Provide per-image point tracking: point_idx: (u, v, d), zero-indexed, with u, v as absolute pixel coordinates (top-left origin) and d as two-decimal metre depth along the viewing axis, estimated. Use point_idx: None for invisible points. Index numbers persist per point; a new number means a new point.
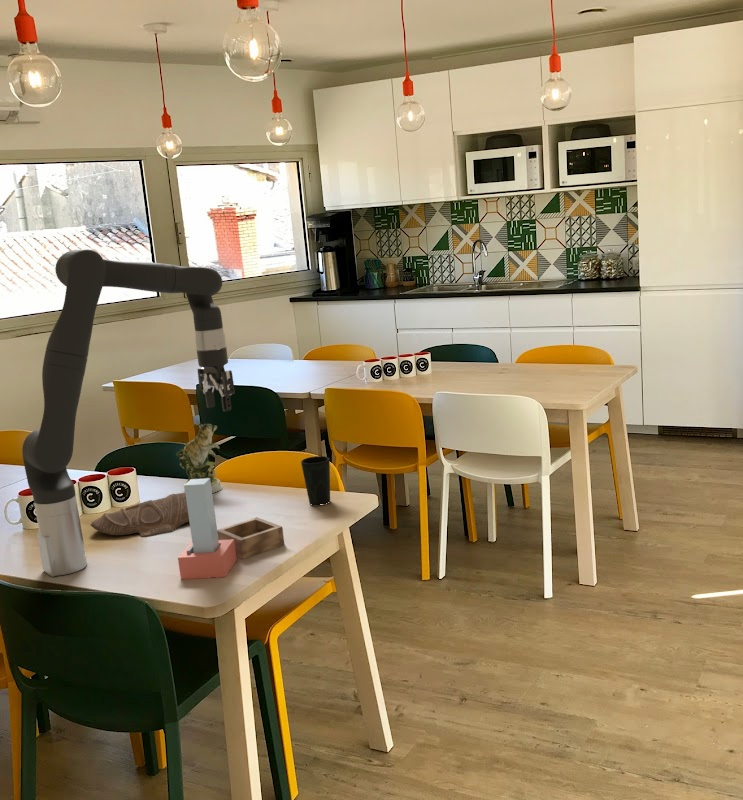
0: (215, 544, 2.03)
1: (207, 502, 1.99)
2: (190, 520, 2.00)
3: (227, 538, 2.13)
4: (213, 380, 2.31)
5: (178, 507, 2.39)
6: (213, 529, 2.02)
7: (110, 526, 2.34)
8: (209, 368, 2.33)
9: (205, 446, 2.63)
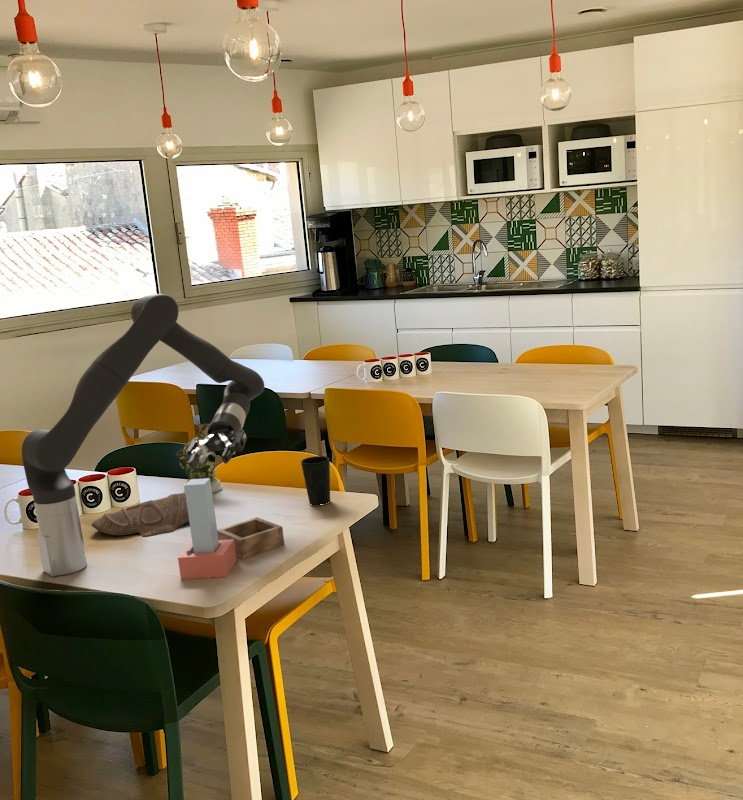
0: (215, 544, 2.03)
1: (207, 502, 1.99)
2: (190, 520, 2.00)
3: (227, 538, 2.13)
4: (223, 436, 2.19)
5: (179, 508, 2.39)
6: (213, 529, 2.02)
7: (111, 526, 2.34)
8: (218, 433, 2.22)
9: (205, 446, 2.63)
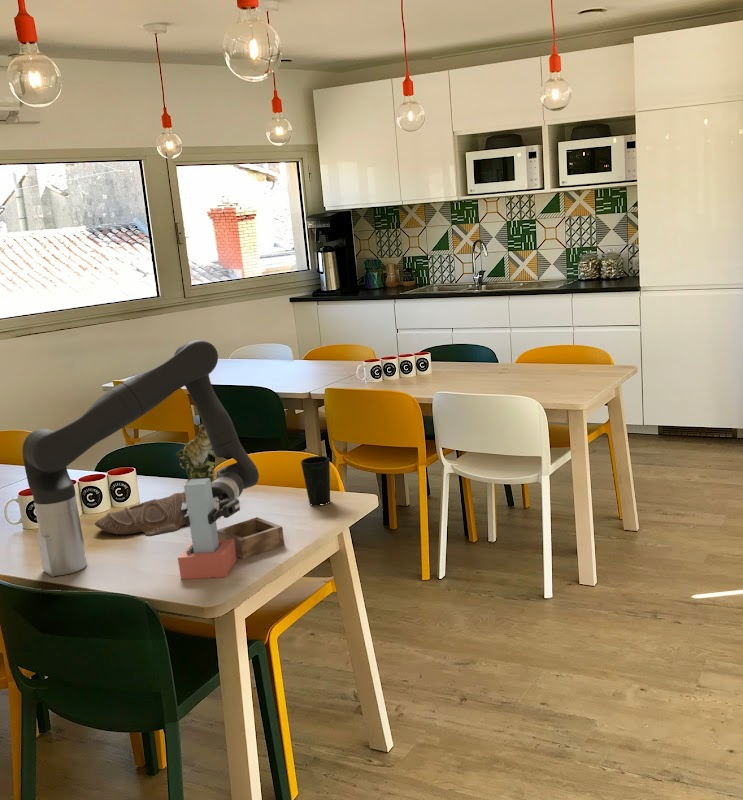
0: (215, 544, 2.03)
1: (207, 502, 1.99)
2: (190, 520, 2.00)
3: (227, 538, 2.13)
4: (216, 500, 2.07)
5: None
6: (213, 529, 2.02)
7: (115, 525, 2.34)
8: None
9: (205, 446, 2.63)
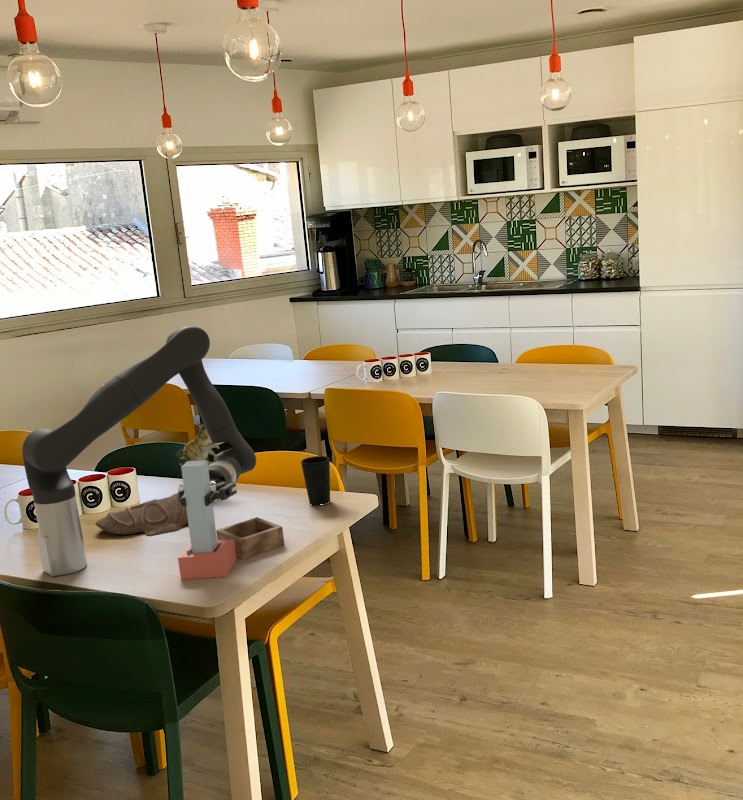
0: (211, 526, 2.02)
1: (203, 483, 1.98)
2: (186, 502, 1.99)
3: (227, 538, 2.13)
4: (213, 483, 2.06)
5: (183, 507, 2.40)
6: (209, 511, 2.01)
7: (115, 525, 2.34)
8: None
9: (205, 446, 2.63)
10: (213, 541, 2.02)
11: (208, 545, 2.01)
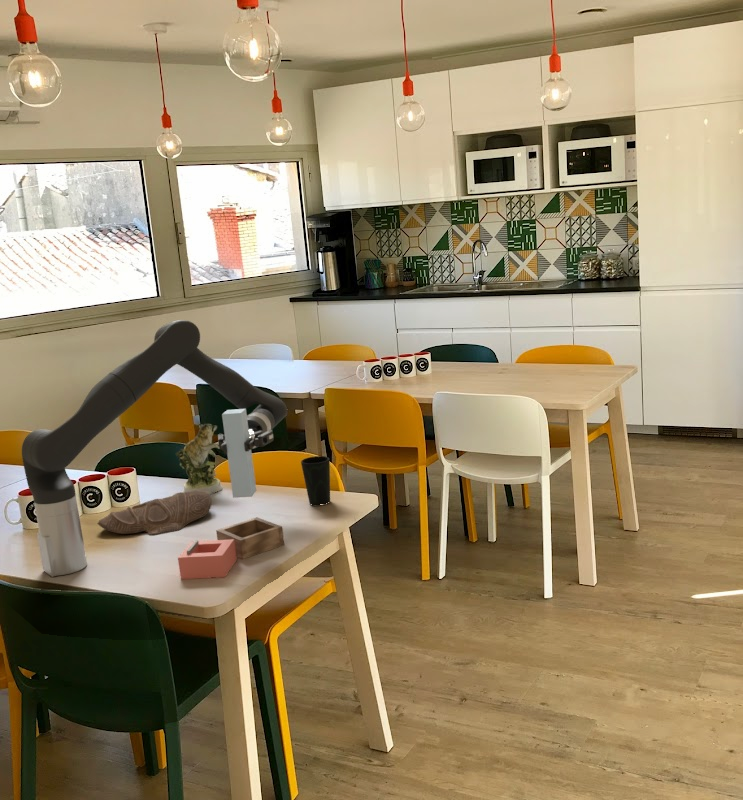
0: (251, 471, 2.13)
1: (243, 430, 2.09)
2: (227, 448, 2.10)
3: (227, 538, 2.13)
4: (251, 431, 2.17)
5: (185, 506, 2.40)
6: (249, 457, 2.12)
7: (117, 525, 2.34)
8: None
9: (205, 446, 2.63)
10: (252, 486, 2.13)
11: (248, 489, 2.12)
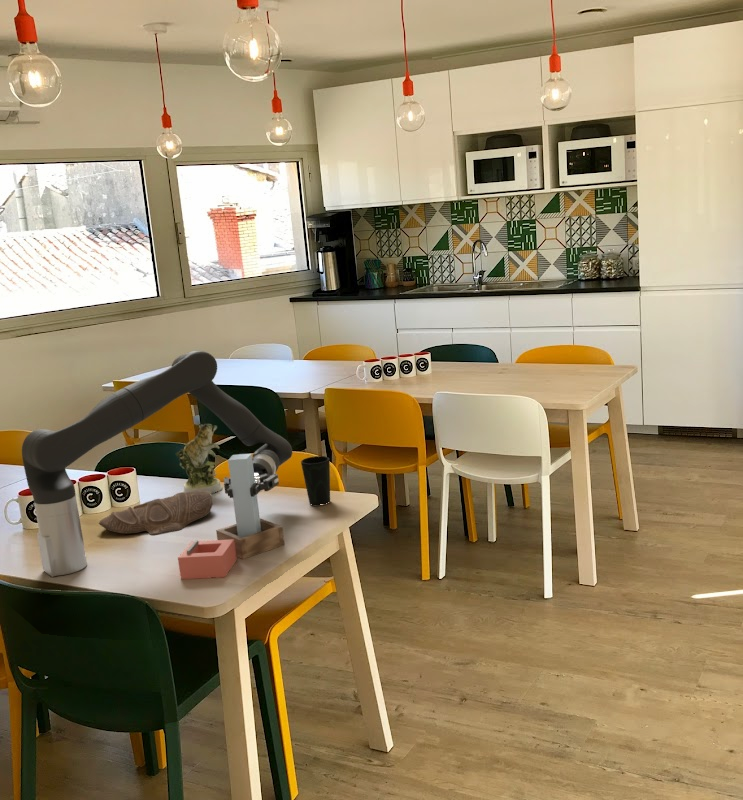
0: (256, 515, 2.15)
1: (249, 475, 2.11)
2: (233, 493, 2.12)
3: (227, 538, 2.13)
4: (256, 475, 2.19)
5: (186, 506, 2.40)
6: (254, 501, 2.14)
7: (119, 524, 2.35)
8: None
9: (205, 446, 2.63)
10: (258, 530, 2.15)
11: None
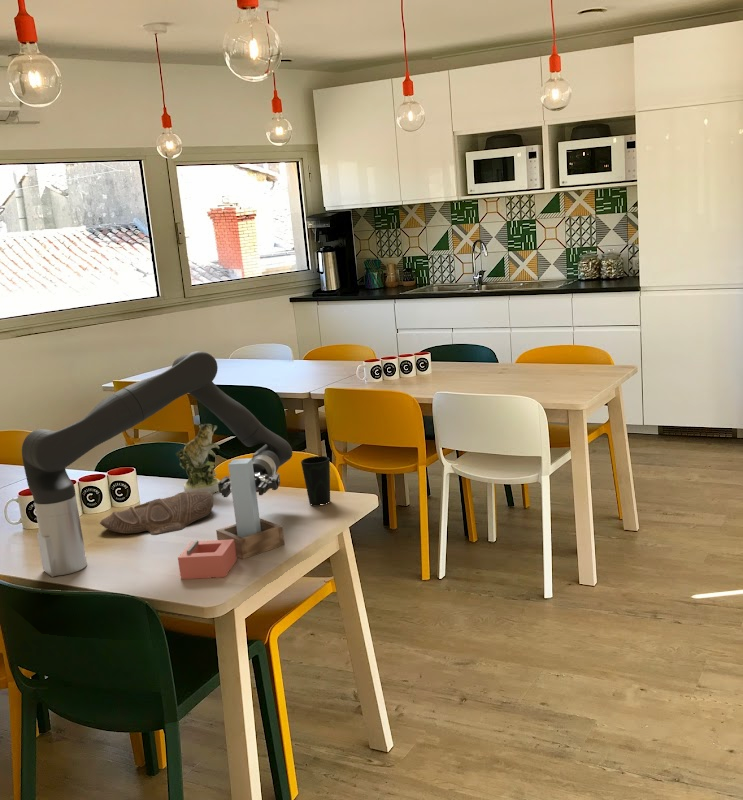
0: (257, 520, 2.15)
1: (249, 480, 2.12)
2: (233, 497, 2.13)
3: (227, 538, 2.13)
4: (258, 475, 2.19)
5: (187, 506, 2.40)
6: (255, 506, 2.14)
7: (120, 524, 2.35)
8: None
9: (205, 446, 2.63)
10: None
11: None
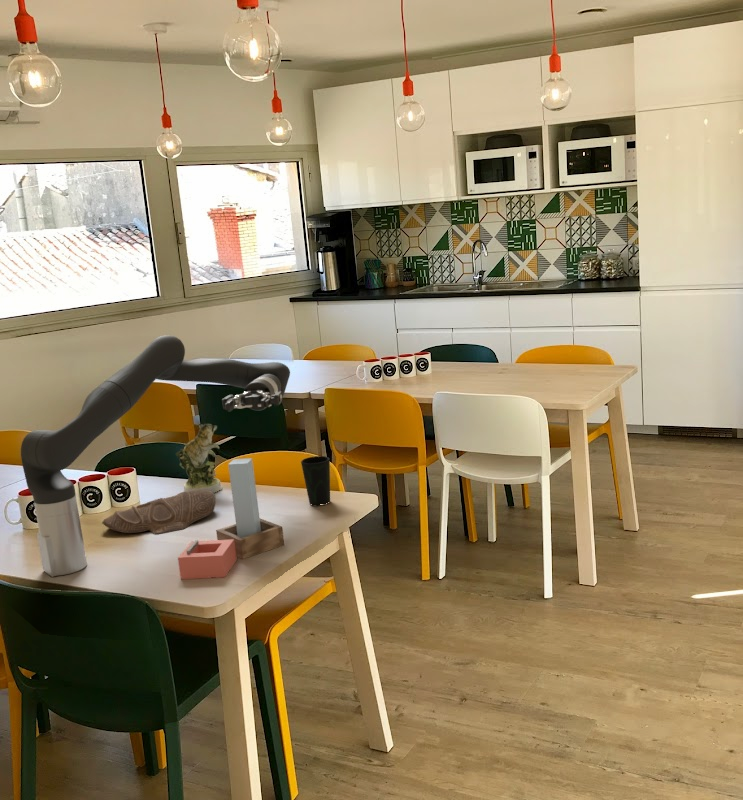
0: (257, 520, 2.15)
1: (249, 480, 2.12)
2: (233, 497, 2.13)
3: (227, 538, 2.13)
4: (261, 392, 2.28)
5: (189, 505, 2.40)
6: (255, 506, 2.14)
7: (122, 524, 2.35)
8: (254, 393, 2.31)
9: (205, 446, 2.63)
10: None
11: None
